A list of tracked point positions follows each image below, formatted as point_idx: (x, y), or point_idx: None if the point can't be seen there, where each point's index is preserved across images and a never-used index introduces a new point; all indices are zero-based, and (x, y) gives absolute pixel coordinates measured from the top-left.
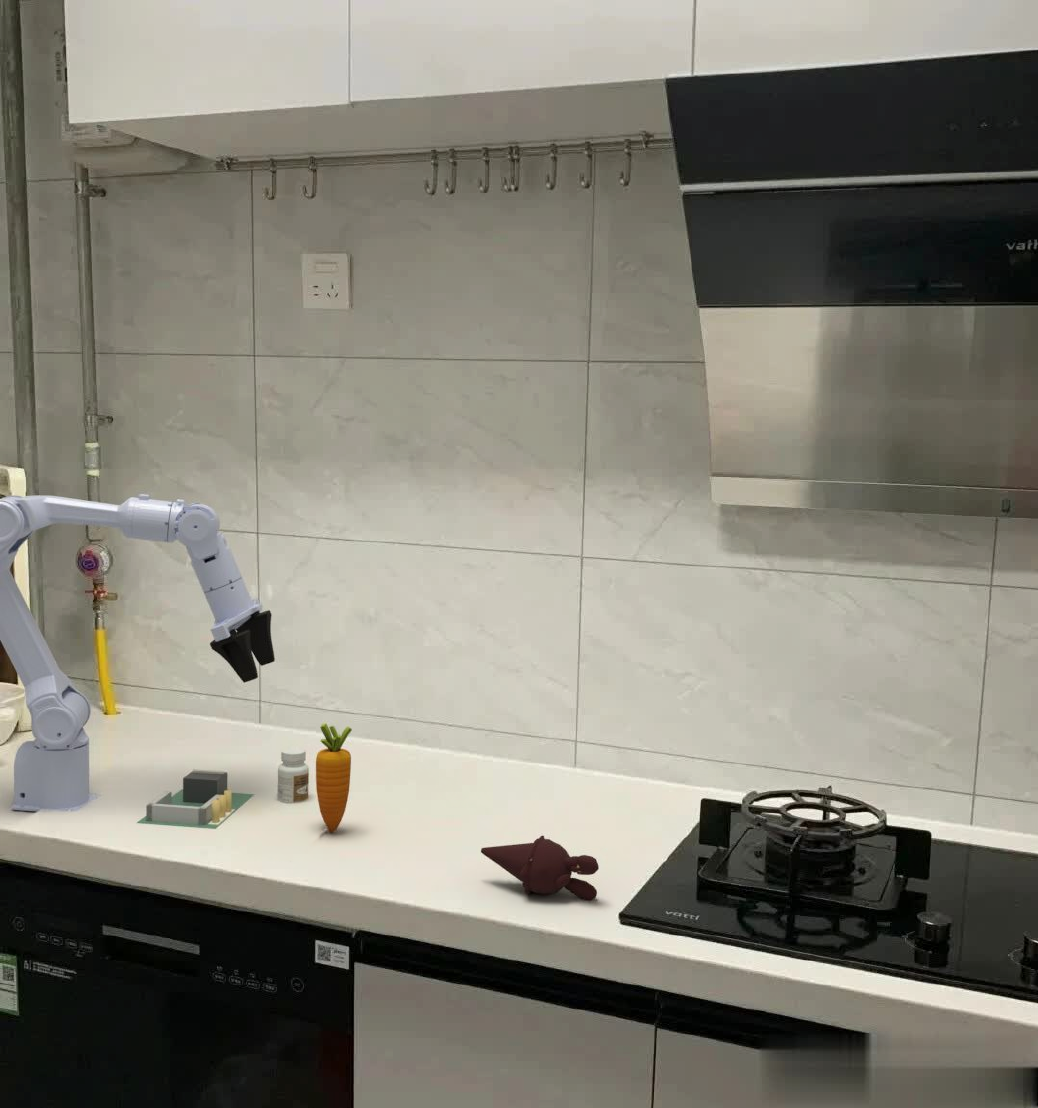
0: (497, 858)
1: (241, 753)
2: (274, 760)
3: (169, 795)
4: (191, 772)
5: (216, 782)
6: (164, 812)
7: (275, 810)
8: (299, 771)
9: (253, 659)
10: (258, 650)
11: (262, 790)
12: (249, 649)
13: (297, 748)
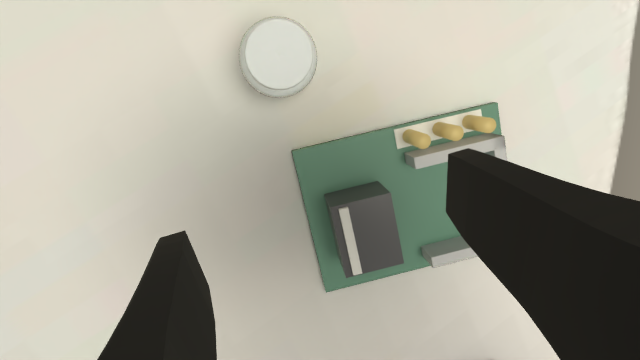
0: None
1: (30, 351)
2: (33, 262)
3: (438, 253)
4: (363, 272)
5: (389, 192)
6: None
7: (337, 69)
8: (300, 25)
9: (527, 187)
10: (205, 349)
11: (237, 164)
12: (622, 213)
13: (254, 55)
